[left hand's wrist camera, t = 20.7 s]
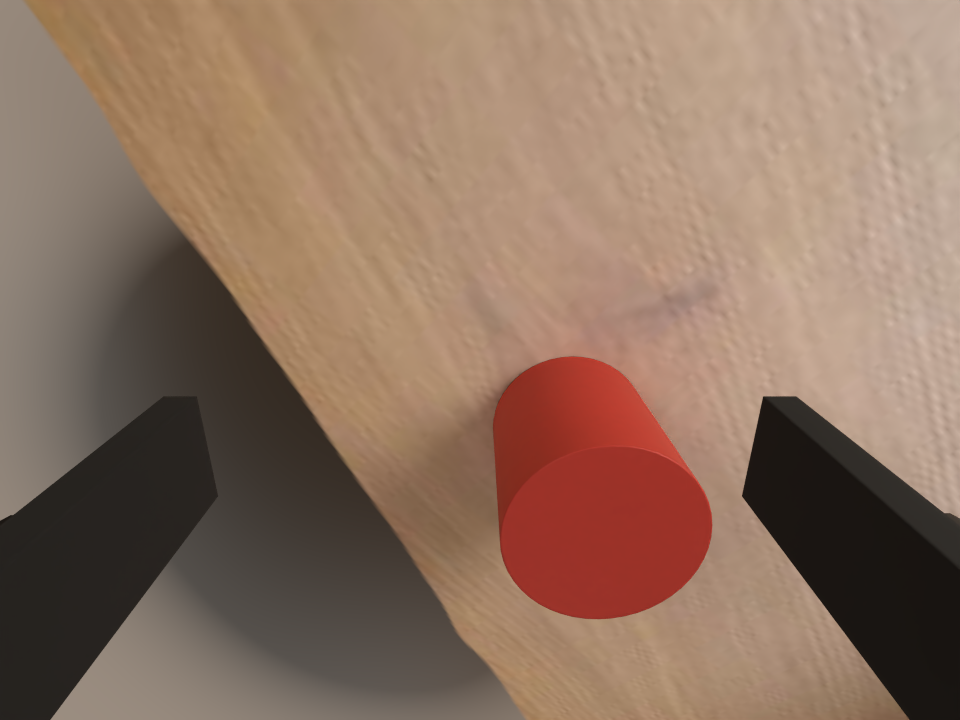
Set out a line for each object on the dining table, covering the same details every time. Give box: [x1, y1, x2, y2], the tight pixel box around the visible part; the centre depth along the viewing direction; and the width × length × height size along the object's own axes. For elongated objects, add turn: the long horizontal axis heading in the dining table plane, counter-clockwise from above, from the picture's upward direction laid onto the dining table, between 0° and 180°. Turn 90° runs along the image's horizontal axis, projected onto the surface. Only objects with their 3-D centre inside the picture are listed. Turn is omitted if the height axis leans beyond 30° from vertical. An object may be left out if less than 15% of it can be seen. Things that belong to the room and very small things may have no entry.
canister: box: [493, 357, 712, 619], centre depth 26 cm, size 9×9×10 cm
